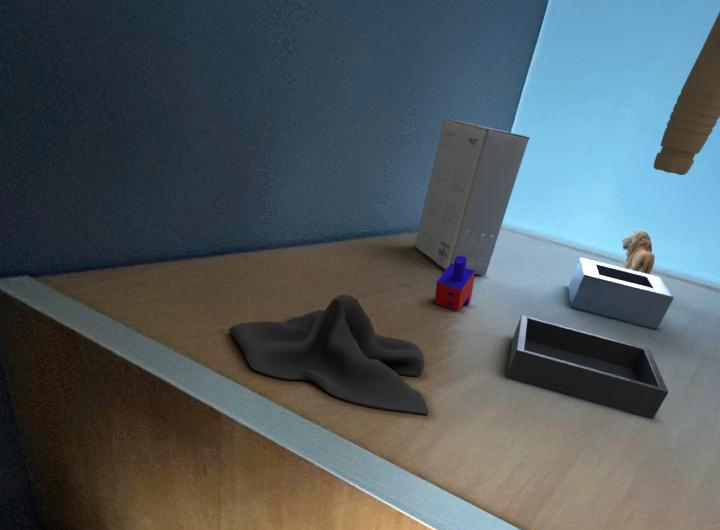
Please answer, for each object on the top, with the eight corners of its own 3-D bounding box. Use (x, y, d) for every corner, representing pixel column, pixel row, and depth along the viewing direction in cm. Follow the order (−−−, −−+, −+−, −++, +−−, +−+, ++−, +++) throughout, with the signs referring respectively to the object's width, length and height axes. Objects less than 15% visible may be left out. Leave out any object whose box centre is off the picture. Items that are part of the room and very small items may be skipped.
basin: (637, 373, 70) (649, 349, 68) (653, 419, 59) (668, 392, 57) (512, 338, 72) (521, 314, 70) (506, 377, 61) (516, 350, 59)
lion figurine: (604, 273, 115) (626, 225, 109) (630, 279, 115) (652, 231, 109) (627, 294, 103) (652, 242, 98) (656, 300, 103) (682, 248, 98)
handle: (639, 164, 57) (726, -40, 48) (706, 179, 55) (810, -32, 46) (630, 164, 54) (722, -56, 44) (702, 180, 51) (814, -48, 42)
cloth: (195, 344, 54) (196, 278, 50) (306, 308, 67) (313, 254, 64) (397, 438, 46) (416, 368, 43) (477, 376, 60) (497, 319, 56)
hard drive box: (487, 277, 95) (531, 137, 83) (446, 272, 93) (486, 128, 81) (449, 250, 107) (484, 124, 95) (412, 246, 104) (443, 115, 92)
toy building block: (433, 312, 80) (438, 263, 73) (447, 294, 81) (452, 244, 74) (456, 321, 79) (463, 272, 72) (470, 302, 80) (478, 252, 73)
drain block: (645, 307, 98) (660, 277, 95) (657, 329, 87) (674, 297, 84) (568, 287, 100) (580, 257, 97) (570, 307, 89) (584, 274, 86)
